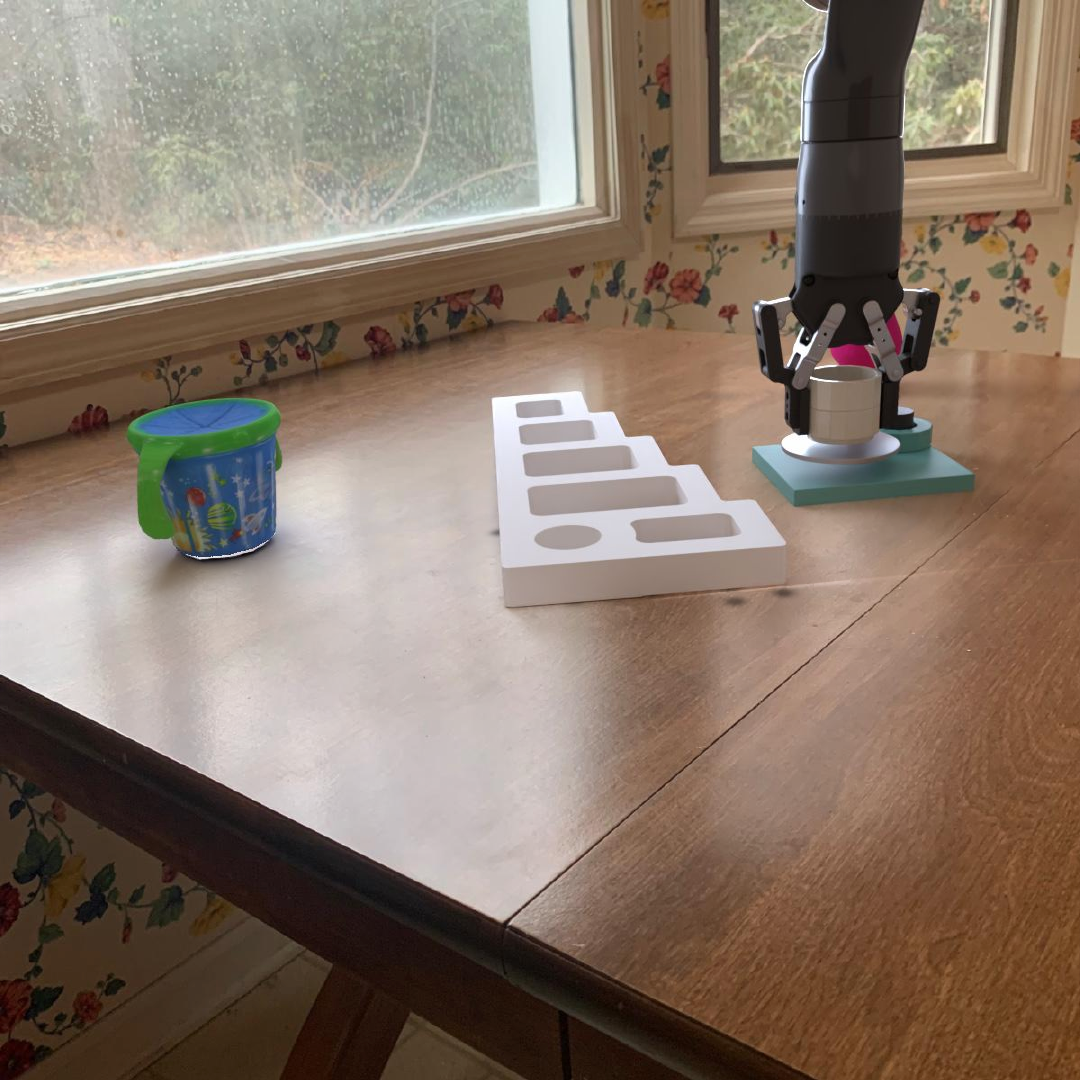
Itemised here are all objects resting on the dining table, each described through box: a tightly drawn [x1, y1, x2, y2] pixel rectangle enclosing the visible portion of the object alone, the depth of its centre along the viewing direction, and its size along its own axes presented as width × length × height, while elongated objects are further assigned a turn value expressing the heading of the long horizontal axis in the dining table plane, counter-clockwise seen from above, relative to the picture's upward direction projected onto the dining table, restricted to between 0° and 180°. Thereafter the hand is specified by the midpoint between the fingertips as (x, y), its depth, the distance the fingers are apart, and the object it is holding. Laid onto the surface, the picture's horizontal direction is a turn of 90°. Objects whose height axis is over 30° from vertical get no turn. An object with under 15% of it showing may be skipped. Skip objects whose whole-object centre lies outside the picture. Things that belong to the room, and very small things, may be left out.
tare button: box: [887, 405, 915, 430], centre depth 90 cm, size 3×3×2 cm
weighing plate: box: [780, 432, 900, 465], centre depth 86 cm, size 9×9×1 cm
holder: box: [491, 390, 787, 608], centre depth 89 cm, size 45×18×3 cm, turn 3°
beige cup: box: [806, 364, 882, 445], centre depth 84 cm, size 6×6×5 cm
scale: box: [751, 416, 976, 508], centre depth 88 cm, size 14×12×3 cm
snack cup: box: [125, 397, 283, 560], centre depth 81 cm, size 16×10×10 cm
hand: (840, 428), depth 85 cm, fingers closed on beige cup, 6 cm apart
